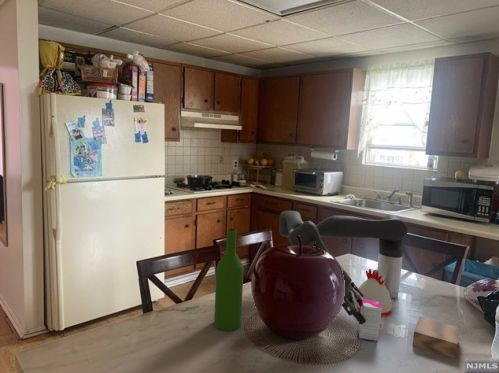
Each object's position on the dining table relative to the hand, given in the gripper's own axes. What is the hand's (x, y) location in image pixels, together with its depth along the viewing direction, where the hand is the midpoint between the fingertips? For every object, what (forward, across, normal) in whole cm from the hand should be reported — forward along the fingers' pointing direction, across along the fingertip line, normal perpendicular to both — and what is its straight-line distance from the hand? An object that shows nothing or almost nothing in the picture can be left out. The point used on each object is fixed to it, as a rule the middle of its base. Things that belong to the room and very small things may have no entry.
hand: (366, 317), depth 119 cm
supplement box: (+6, 0, -4) cm, 7 cm away
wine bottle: (-24, +17, -34) cm, 45 cm away
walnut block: (+20, -8, +10) cm, 24 cm away
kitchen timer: (+4, -23, -6) cm, 24 cm away
